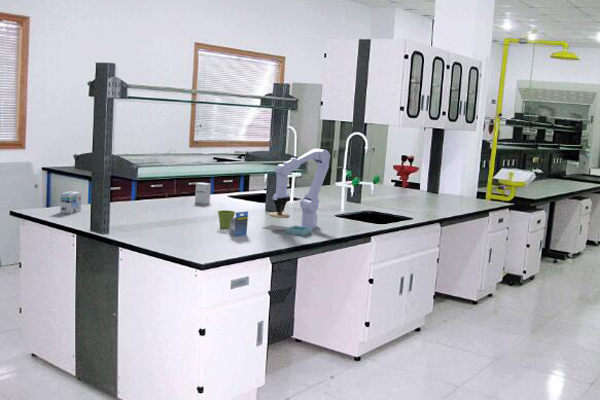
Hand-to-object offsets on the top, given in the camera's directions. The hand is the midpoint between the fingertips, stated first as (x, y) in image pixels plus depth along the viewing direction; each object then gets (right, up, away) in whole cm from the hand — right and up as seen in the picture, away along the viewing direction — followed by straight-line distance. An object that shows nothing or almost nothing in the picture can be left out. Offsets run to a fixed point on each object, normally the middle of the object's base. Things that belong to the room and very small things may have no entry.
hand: (279, 211), depth 349 cm
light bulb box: (-116, 0, +10) cm, 116 cm away
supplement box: (-52, +4, +67) cm, 85 cm away
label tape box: (-21, -12, -19) cm, 31 cm away
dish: (+10, -12, -7) cm, 17 cm away
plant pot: (-29, -9, -5) cm, 30 cm away
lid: (0, -2, 0) cm, 2 cm away
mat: (-2, -9, +2) cm, 10 cm away
